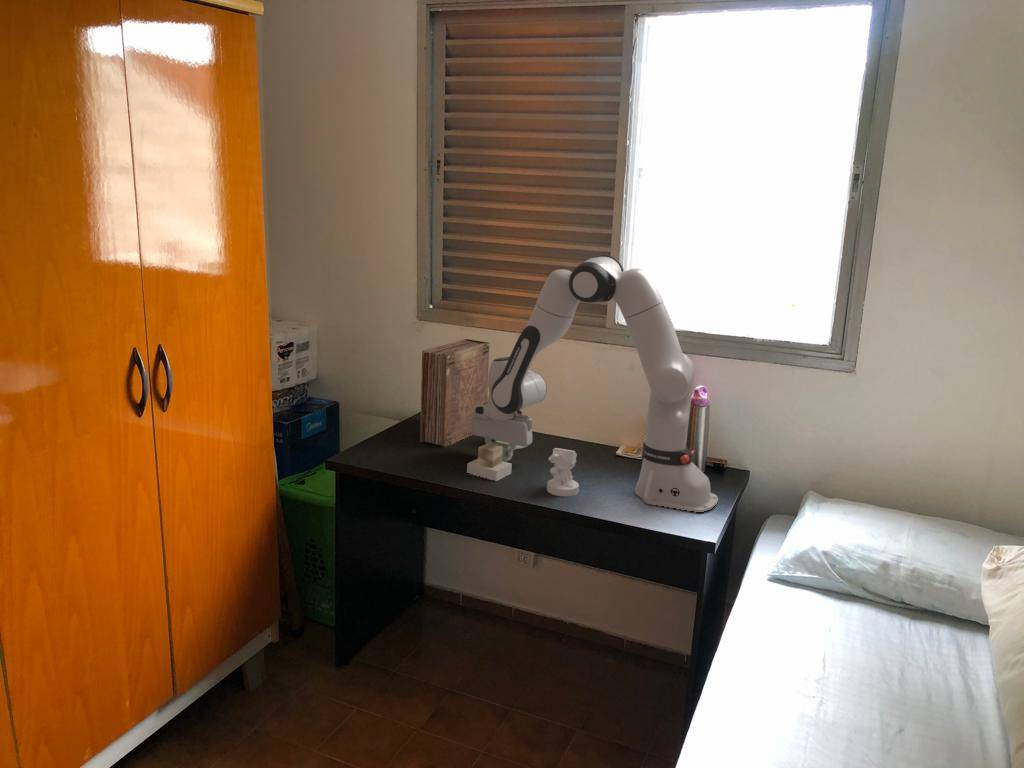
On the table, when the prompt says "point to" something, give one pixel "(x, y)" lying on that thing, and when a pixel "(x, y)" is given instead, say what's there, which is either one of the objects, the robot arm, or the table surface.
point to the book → (452, 389)
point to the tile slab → (489, 470)
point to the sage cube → (505, 448)
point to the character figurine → (562, 473)
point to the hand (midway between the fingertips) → (500, 454)
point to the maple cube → (490, 455)
